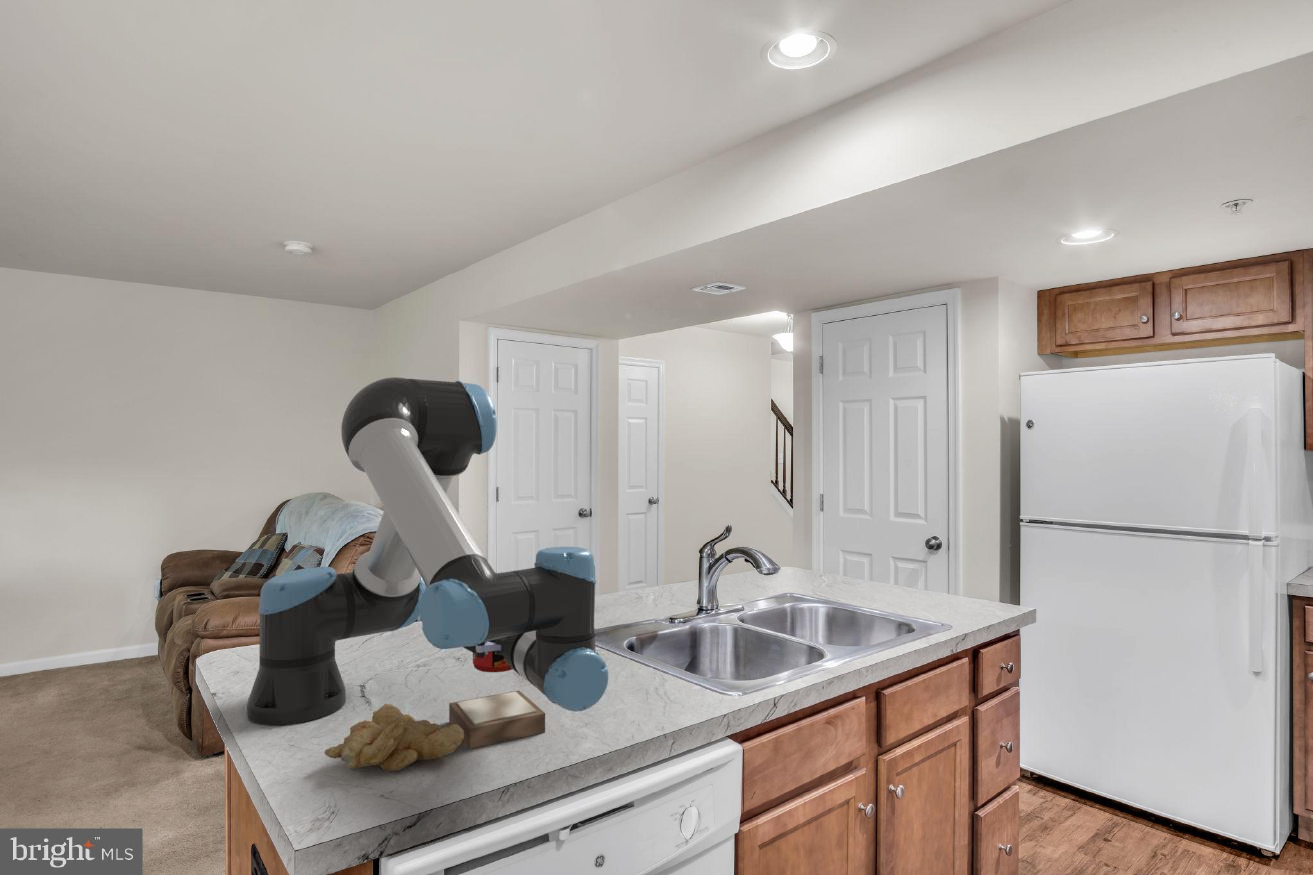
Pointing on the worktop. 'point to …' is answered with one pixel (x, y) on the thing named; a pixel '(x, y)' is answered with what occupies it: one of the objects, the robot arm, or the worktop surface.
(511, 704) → the stand
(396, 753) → the ginger root
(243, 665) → the worktop surface
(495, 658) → the canned food
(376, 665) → the worktop surface
